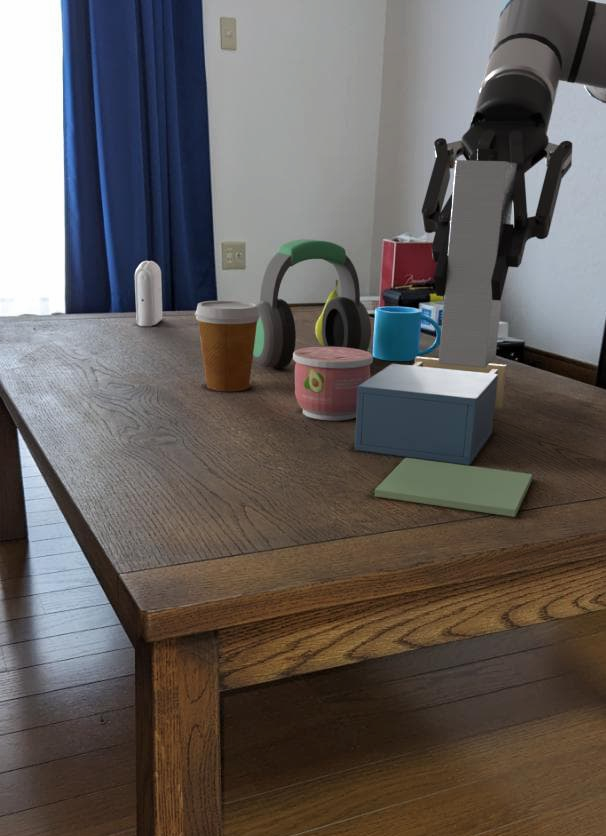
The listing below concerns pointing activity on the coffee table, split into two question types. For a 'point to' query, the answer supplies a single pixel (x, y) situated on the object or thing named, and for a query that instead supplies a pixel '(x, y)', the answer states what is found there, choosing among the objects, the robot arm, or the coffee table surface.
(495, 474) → the mat
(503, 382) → the drawer
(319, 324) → the fruit
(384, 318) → the mug
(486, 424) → the cabinet
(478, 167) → the silver box
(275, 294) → the headphones
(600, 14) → the robot arm
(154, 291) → the white pill-shaped pillar
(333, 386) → the container
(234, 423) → the coffee table surface
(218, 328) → the disposable coffee cup
